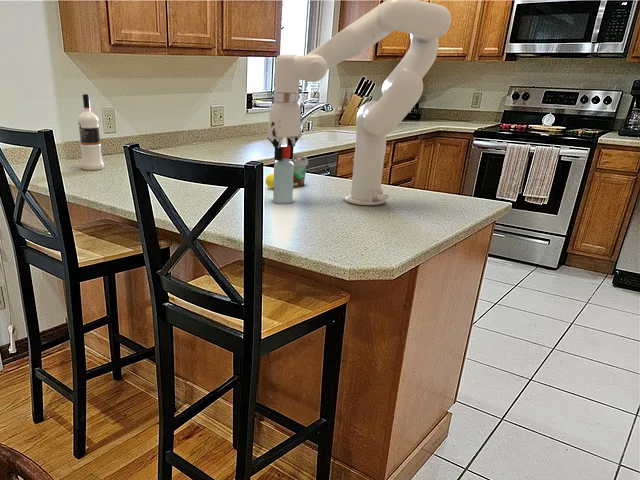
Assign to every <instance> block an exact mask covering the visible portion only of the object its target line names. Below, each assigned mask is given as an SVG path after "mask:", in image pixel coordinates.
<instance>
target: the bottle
mask: <svg viewBox="0 0 640 480" xmlns="http://www.w3.org/2000/svg"><path fill="white" fill-rule="evenodd" d="M293 173H294V165H293V163H292V161H291V159H289V158H282V161H278V160H275V162H274V164H273V174H274V186H273V189H272V190H273V191H272V192H273V193H272V202H273V203H274V204H283V205H284V204H285V205H286V204H292V203H293V197H294V196H293V195H294V187H293Z"/></svg>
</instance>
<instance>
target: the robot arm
mask: <svg viewBox="0 0 640 480" xmlns="http://www.w3.org/2000/svg"><path fill="white" fill-rule="evenodd" d="M451 25H452V15H451V12H450V10H449V9H448V8H447V7H445V6H444V5H442V4H437V3H434V2H428V1H423V0H385V1H383V2H381V3H379V4H378V5H377V6H375V7H374V8H373V9H371V10H370V11H368V12H366V13H365V14H363V15H362V16H361V17H359V18H358V19H356V20H355V21H353V22H352V23H351V24H349V25H348V26H346V27H344V28H343V29H342V30H340V31H339V32H338V33H336V34H335V35H334V36H332V37H331V38H329V39H328V40H326V41H325V42H323V43H321V44H320V45H319V46H317V47H315V48H314V49H312V50H311V51H310V52H308V53H307V54H305V55H296V54H280V55H277V56H276V58H275V65H274V66H275V67H274V92H273V93H274V94H273V103H271V106H270V109H269V110H270V111H269V115H268V116H269V117H268V125H267V135H266V140H267V141H269V142H270V143H271V145H272V147H273V148H274V153H273V154H274V157H273V159H274V160H275V161H282V154H283V148H281V145H283V138H286V145H290V146H291V154H290V158H289V160H293V159H294V147H296V144H297V142H298V141H299V139H300V138H302V136H303V134H302V131H301V105H300V103H299V100H301V95H300V81H307V82H312V83H314V82H319V81H321V80H322V79H323V78H324V77H325V76H326V74H327V72H328V70H330V69H332V68H334V67H335V66H337V65H338V64H340V63H342V62H344V61H346V60H349V59H351V58H354V57H356V56H358V55H360V54H362V53H363V52H365V51H367V50H368V49H369V48H371V47H373V46H374V45H375V44H377V43H378V42H379V41H381V40H383V39H384V38H386V37H387V36H389V35H390V34H393V32H396V31H397V32H401V33H406V34H410V45H409V48H408V50H407V52H405V55H404V56H403V58H402V59H401V60H400V61H399V63H398V64H397V65H396V66H395V68H394V69H393V70H392V71H391V73H390V74H389V75H388V76H387V77H386V78H385V80H384V82H383V83H382V87H381V94H382V96H381V97H380V98H379V99H378V100H370V101H367V102H365V103H364V104H363V105H362V106H360V107H359V109H358V112H357V114H356V119H355V148H354V158H353V167H352V179H351V187H350V188H351V189H350V194H347V195H346V196H345V201H346V202H347V203H350V204H354V205H358V206H379V205H382V204H384V203H385V202H387V200H388V199H389V197H390V196H389V194H385V193H384V189H383V188H382V181H383V174H384V173H383V172H384V165H385V156H386V150H387V135H389V134H391V133H392V132H393V131H394V130H395V129H397V127H398V126H399V125H400V124H401V123H402V121H403V120H404V119H405V118H406V117H407V115H408V114H409V113H410V112H411V111H412V109H413V108H414V107H415V106H416V104H417V103H418V102H419V100H420V99H421V96H422V94H423V92H424V82H423V81H424V80H423V79H424V77H425V76H426V75H427V73H428V72H429V70H431V68H432V66H433V65H434V63H435V61H436V58H437V55H438V53H439V52H438V51H439V39H440V38H442V37H443V36H445V35H446V34H447V33H448V31H449V29H450V27H451Z"/></svg>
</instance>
